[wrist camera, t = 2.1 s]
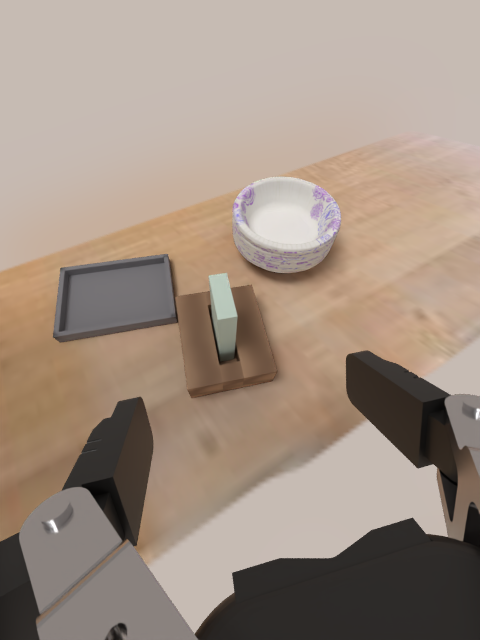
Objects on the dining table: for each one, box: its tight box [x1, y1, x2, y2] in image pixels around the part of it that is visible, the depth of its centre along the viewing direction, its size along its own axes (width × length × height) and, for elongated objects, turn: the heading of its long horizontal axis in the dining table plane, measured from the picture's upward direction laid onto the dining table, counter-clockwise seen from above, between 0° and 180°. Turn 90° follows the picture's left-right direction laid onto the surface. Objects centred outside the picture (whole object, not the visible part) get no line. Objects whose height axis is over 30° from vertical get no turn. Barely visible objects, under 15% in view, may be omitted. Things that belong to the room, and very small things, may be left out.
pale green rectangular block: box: [209, 273, 238, 362], centre depth 30 cm, size 2×5×11 cm, turn 13°
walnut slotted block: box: [175, 285, 277, 398], centre depth 34 cm, size 10×12×4 cm
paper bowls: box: [233, 177, 341, 273], centre depth 41 cm, size 15×15×8 cm
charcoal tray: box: [53, 254, 177, 342], centre depth 38 cm, size 15×11×2 cm
